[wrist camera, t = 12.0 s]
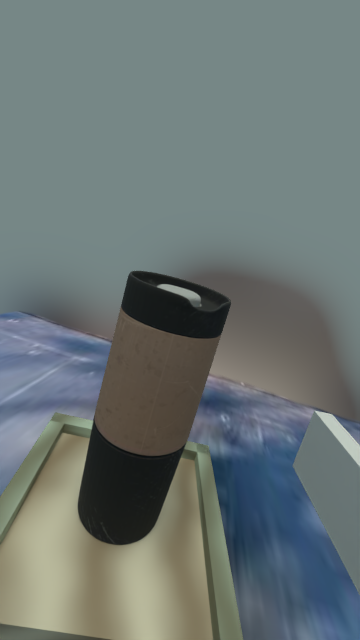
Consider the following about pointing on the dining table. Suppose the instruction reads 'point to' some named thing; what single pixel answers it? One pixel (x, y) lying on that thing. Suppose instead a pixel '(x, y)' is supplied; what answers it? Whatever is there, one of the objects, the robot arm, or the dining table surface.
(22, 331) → the dining table surface
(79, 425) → the tray
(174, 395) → the travel mug
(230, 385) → the dining table surface
